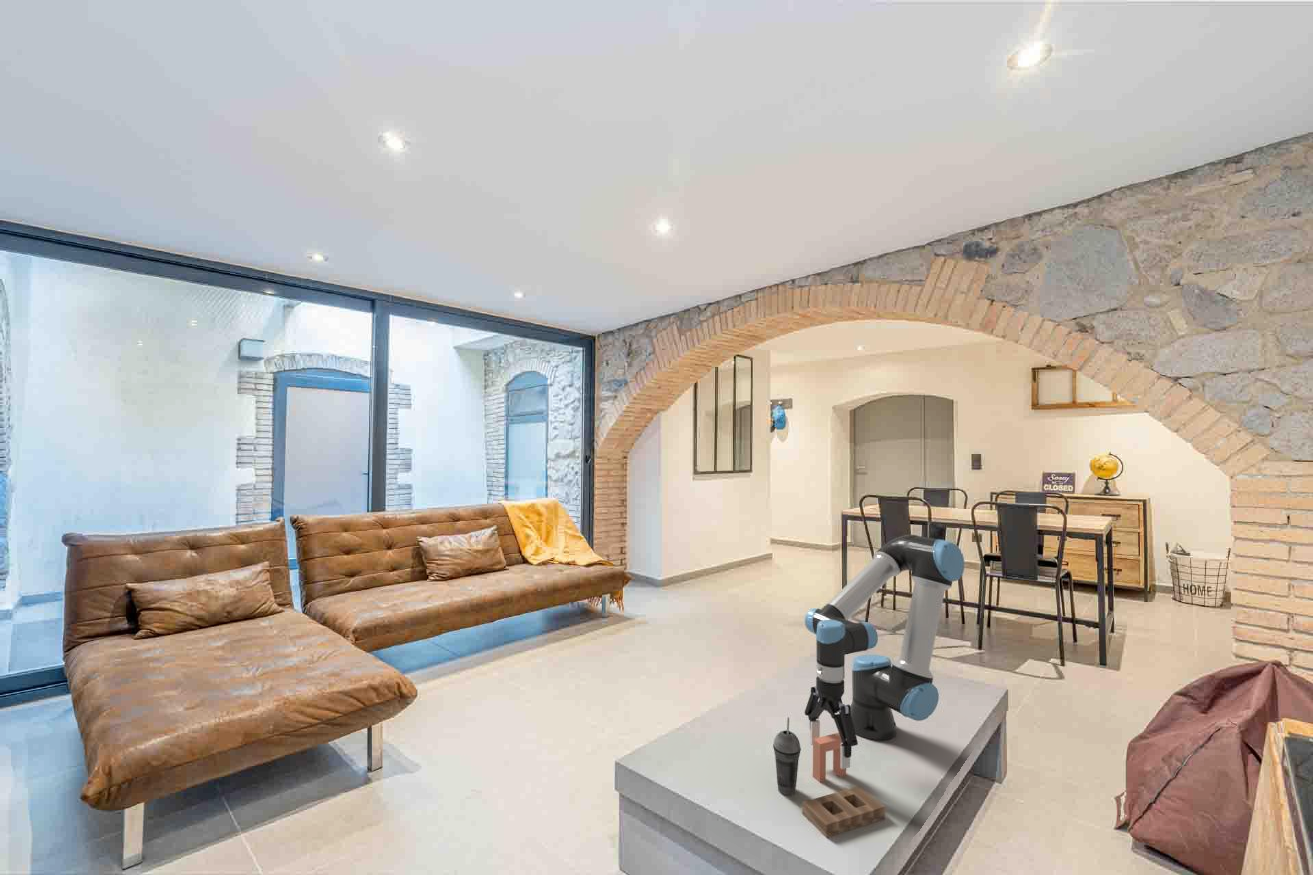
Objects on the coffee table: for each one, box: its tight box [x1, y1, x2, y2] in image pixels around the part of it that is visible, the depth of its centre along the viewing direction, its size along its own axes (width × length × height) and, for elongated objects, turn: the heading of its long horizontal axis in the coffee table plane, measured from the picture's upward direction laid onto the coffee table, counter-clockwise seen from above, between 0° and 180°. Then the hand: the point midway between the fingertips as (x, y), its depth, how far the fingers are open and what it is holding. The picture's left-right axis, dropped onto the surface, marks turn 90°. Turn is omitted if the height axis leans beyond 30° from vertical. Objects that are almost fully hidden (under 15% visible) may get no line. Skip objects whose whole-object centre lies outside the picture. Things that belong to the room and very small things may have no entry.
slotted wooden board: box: [802, 785, 886, 838], centre depth 141 cm, size 18×9×3 cm, turn 112°
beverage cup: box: [772, 717, 802, 797], centre depth 151 cm, size 7×7×20 cm
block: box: [812, 732, 847, 783], centre depth 158 cm, size 9×3×10 cm, turn 112°
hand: (829, 755), depth 158 cm, fingers open, 12 cm apart
